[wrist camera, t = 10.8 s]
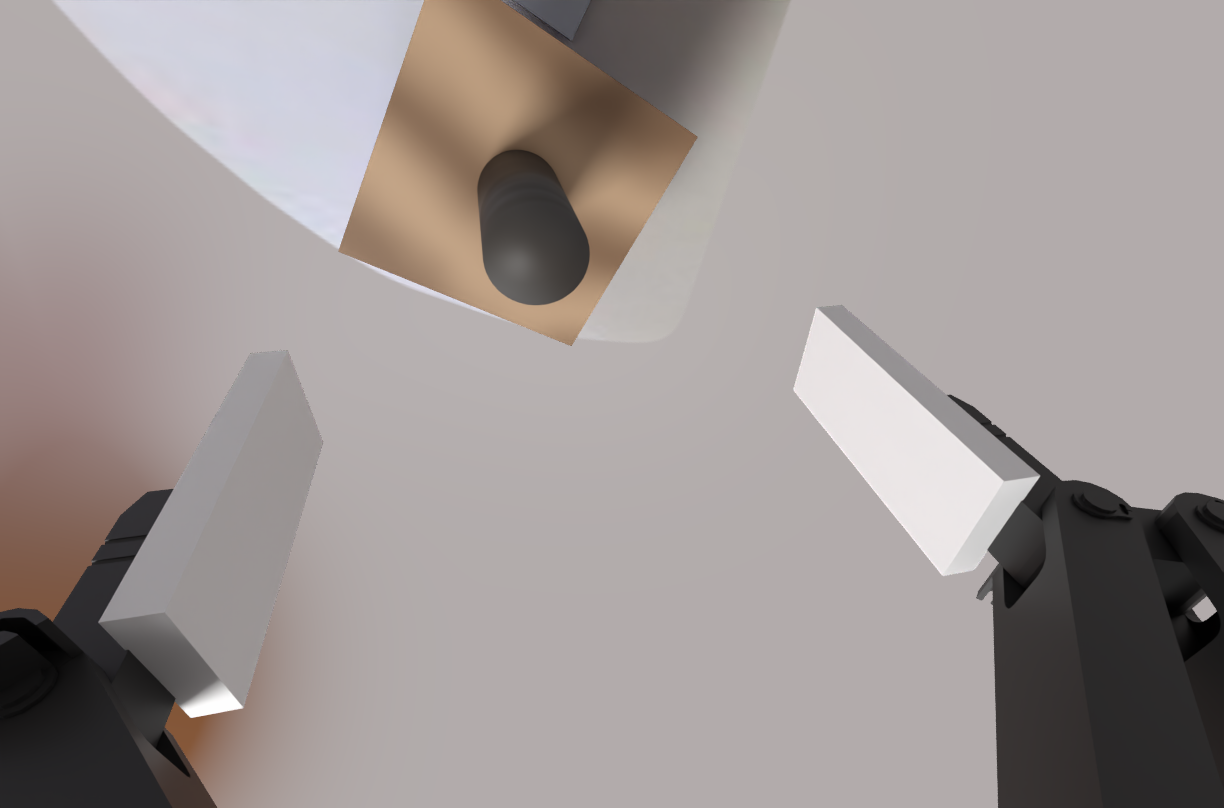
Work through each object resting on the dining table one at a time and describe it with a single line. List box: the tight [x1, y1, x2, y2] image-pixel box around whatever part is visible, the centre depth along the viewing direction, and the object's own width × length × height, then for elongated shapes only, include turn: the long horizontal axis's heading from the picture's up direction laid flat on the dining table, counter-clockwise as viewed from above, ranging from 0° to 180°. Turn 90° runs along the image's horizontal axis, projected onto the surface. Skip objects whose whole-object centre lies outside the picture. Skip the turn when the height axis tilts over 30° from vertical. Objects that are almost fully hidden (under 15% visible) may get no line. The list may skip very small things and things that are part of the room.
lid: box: [339, 0, 697, 346], centre depth 24 cm, size 13×13×9 cm
